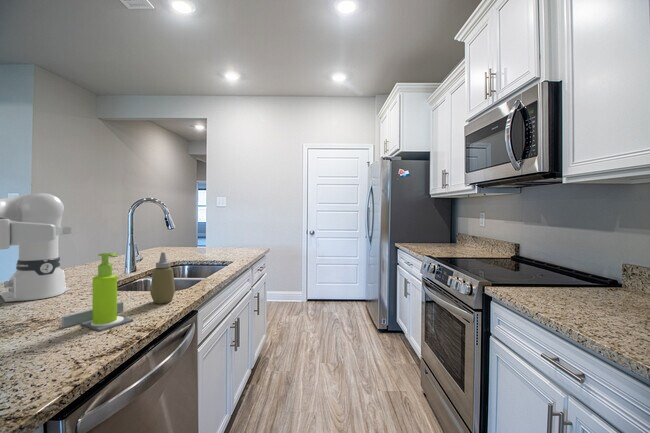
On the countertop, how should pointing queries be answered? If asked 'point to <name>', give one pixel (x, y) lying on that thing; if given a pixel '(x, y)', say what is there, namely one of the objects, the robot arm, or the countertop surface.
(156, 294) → the squeeze bottle
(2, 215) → the robot arm
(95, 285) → the soap dispenser
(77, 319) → the acrylic wall
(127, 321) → the mat
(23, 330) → the countertop surface
